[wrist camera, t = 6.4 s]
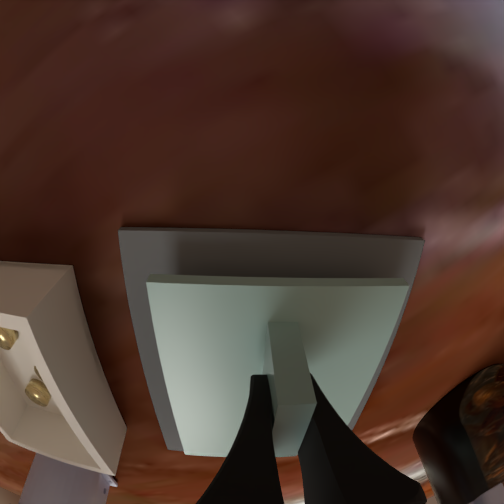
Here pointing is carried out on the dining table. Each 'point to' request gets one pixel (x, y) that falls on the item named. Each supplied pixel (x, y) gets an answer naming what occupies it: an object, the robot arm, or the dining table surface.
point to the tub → (55, 371)
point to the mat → (250, 265)
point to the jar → (465, 439)
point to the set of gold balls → (35, 387)
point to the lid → (267, 349)
